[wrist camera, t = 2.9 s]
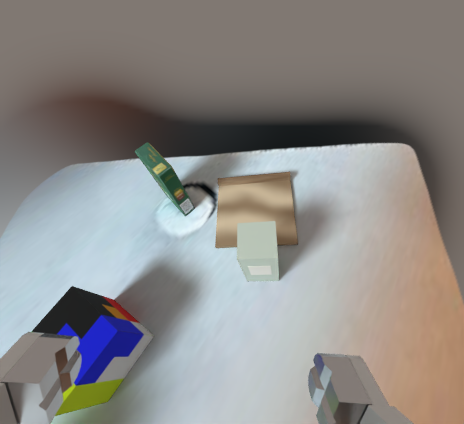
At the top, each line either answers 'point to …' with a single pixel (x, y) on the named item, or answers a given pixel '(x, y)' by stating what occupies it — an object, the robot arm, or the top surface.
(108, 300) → the puzzle toy
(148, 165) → the coffee box
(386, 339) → the top surface
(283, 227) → the board
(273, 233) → the pale green box
